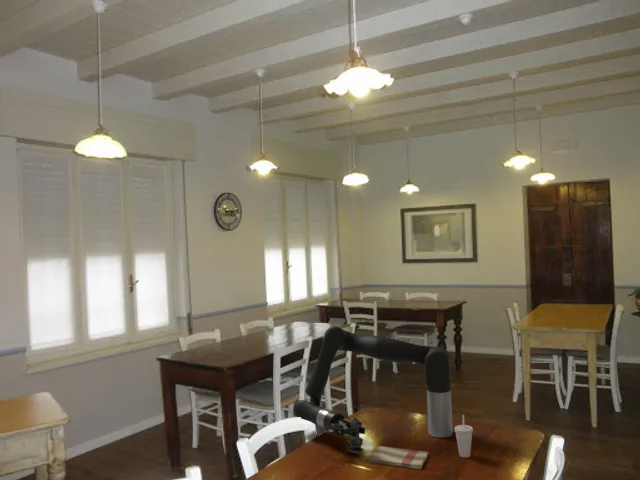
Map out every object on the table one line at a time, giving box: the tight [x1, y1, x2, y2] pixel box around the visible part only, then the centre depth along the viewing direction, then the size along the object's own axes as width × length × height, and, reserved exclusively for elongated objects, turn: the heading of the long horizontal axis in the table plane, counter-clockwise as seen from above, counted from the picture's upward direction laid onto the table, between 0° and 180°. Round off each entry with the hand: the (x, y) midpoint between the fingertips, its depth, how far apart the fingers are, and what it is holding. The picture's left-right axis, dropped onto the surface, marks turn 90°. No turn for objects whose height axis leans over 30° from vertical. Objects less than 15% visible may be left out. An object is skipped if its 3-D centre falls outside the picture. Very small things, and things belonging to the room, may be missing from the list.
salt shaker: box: [346, 416, 364, 454], centre depth 195 cm, size 6×6×12 cm
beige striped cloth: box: [368, 445, 429, 470], centre depth 189 cm, size 12×18×1 cm, turn 66°
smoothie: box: [454, 414, 474, 458], centre depth 190 cm, size 6×6×14 cm
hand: (359, 432), depth 192 cm, fingers closed on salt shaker, 3 cm apart
